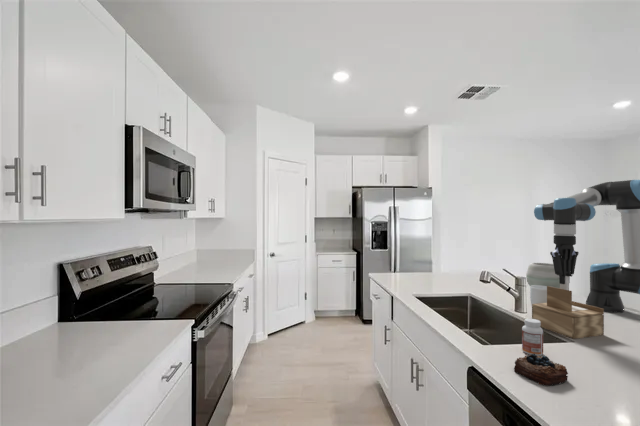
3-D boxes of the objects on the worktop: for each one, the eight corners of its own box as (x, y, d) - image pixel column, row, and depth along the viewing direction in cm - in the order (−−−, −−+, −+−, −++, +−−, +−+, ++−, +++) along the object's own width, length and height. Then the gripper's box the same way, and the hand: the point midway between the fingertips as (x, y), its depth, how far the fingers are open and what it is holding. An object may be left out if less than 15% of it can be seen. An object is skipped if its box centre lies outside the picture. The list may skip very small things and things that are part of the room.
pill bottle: (529, 347, 119) (529, 316, 119) (547, 354, 114) (547, 321, 114) (518, 350, 116) (518, 319, 116) (536, 357, 111) (536, 324, 111)
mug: (537, 308, 170) (537, 283, 170) (563, 313, 161) (563, 286, 162) (526, 314, 161) (526, 286, 161) (553, 319, 152) (553, 291, 152)
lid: (559, 302, 150) (559, 282, 150) (603, 314, 133) (603, 291, 133) (531, 305, 146) (532, 284, 146) (573, 317, 128) (573, 293, 128)
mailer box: (559, 321, 150) (559, 303, 150) (603, 335, 133) (603, 314, 133) (531, 324, 146) (531, 305, 146) (573, 338, 128) (573, 318, 128)
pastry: (547, 389, 91) (547, 368, 91) (507, 370, 102) (507, 351, 102) (573, 382, 95) (573, 361, 95) (532, 364, 106) (532, 346, 106)
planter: (572, 312, 164) (572, 266, 164) (538, 312, 164) (539, 266, 164) (549, 303, 180) (550, 262, 180) (519, 303, 180) (519, 262, 181)
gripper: (567, 234, 145) (567, 289, 144) (544, 234, 141) (544, 290, 141) (585, 235, 137) (585, 292, 137) (561, 235, 134) (561, 294, 134)
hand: (564, 291), depth 139 cm, fingers closed
